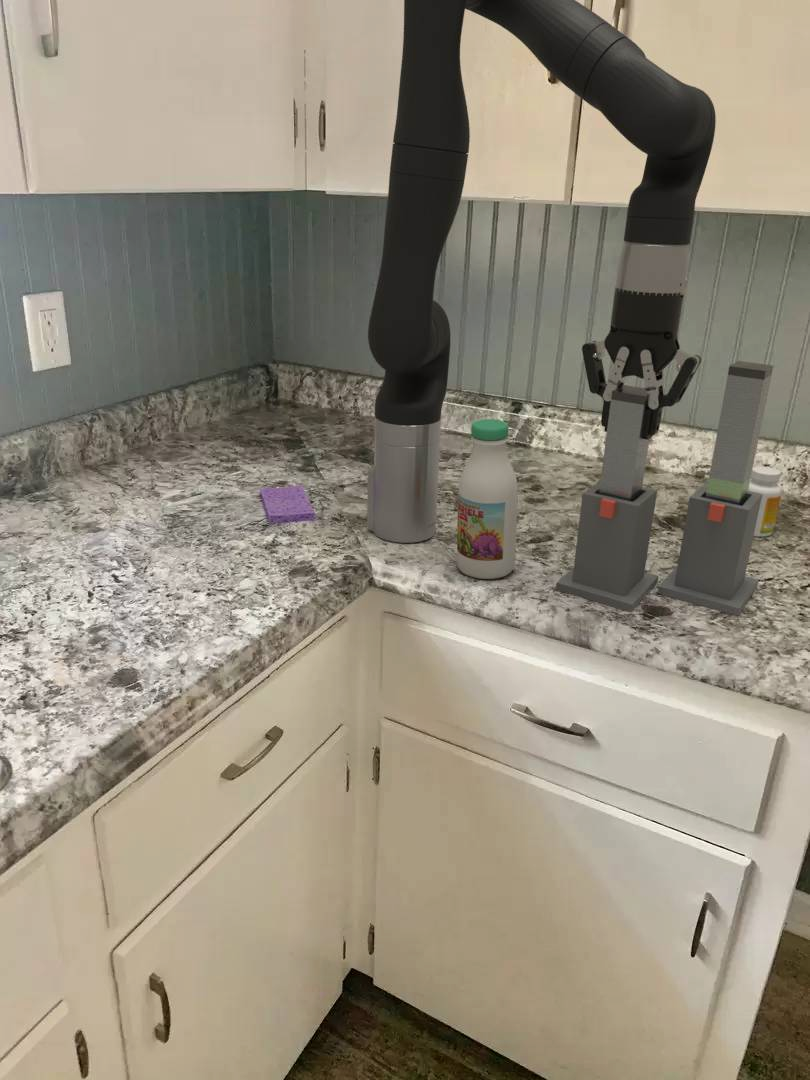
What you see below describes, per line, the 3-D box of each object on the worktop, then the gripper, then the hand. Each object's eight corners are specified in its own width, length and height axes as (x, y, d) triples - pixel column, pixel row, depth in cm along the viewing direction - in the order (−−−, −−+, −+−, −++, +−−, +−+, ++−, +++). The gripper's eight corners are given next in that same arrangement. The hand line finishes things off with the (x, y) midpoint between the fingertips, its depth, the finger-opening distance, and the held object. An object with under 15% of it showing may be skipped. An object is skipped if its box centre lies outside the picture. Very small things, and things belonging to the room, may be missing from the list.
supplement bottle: (770, 526, 129) (783, 466, 126) (774, 539, 125) (788, 477, 121) (733, 522, 131) (745, 462, 127) (736, 534, 126) (748, 473, 122)
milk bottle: (481, 550, 117) (485, 411, 109) (526, 566, 112) (533, 422, 104) (444, 568, 112) (446, 423, 104) (489, 586, 107) (494, 436, 99)
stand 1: (555, 589, 107) (566, 494, 102) (586, 563, 115) (597, 473, 110) (631, 611, 102) (646, 512, 97) (657, 582, 110) (673, 489, 105)
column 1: (589, 560, 106) (611, 391, 98) (601, 550, 110) (624, 384, 101) (620, 568, 104) (645, 396, 96) (631, 557, 108) (657, 390, 99)
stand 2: (657, 593, 107) (673, 497, 102) (681, 566, 115) (697, 476, 110) (738, 615, 102) (759, 516, 97) (757, 586, 110) (777, 493, 105)
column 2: (697, 540, 105) (729, 366, 96) (706, 530, 108) (737, 360, 99) (730, 547, 103) (765, 371, 94) (738, 537, 106) (773, 365, 97)
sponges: (268, 526, 125) (268, 515, 124) (259, 497, 136) (259, 486, 135) (315, 523, 127) (315, 511, 126) (302, 495, 138) (302, 484, 137)
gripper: (577, 282, 94) (560, 430, 101) (704, 295, 87) (677, 453, 94) (602, 277, 100) (585, 417, 107) (723, 289, 93) (697, 438, 100)
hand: (628, 433), depth 100 cm, fingers closed on column 1, 4 cm apart
